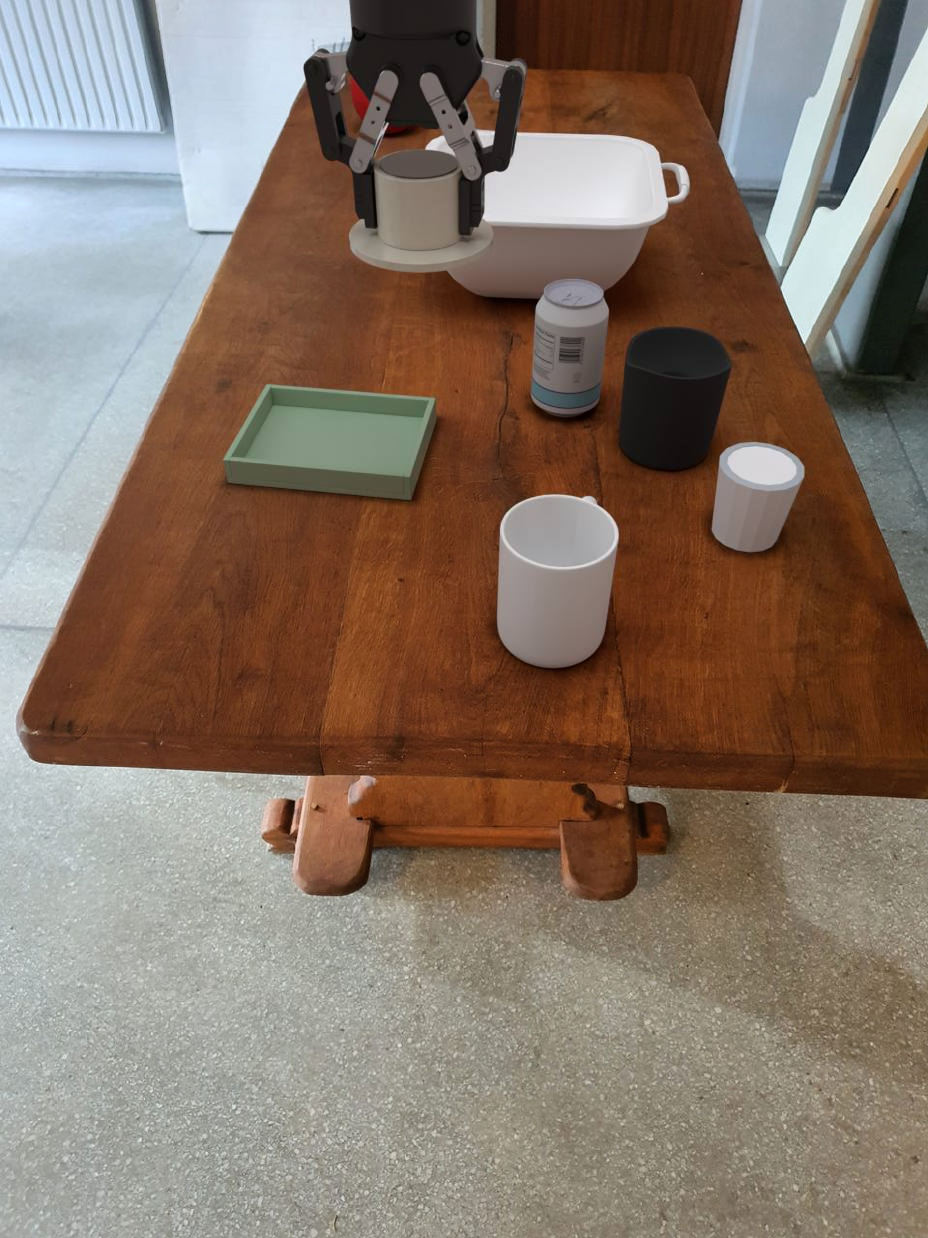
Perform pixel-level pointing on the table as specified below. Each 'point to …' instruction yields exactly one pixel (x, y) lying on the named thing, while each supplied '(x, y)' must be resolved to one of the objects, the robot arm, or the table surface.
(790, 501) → the white short cylinder
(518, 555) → the cup
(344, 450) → the tray
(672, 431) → the pen holder
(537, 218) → the baking dish
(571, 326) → the beverage can
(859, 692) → the table surface
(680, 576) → the table surface
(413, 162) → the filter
